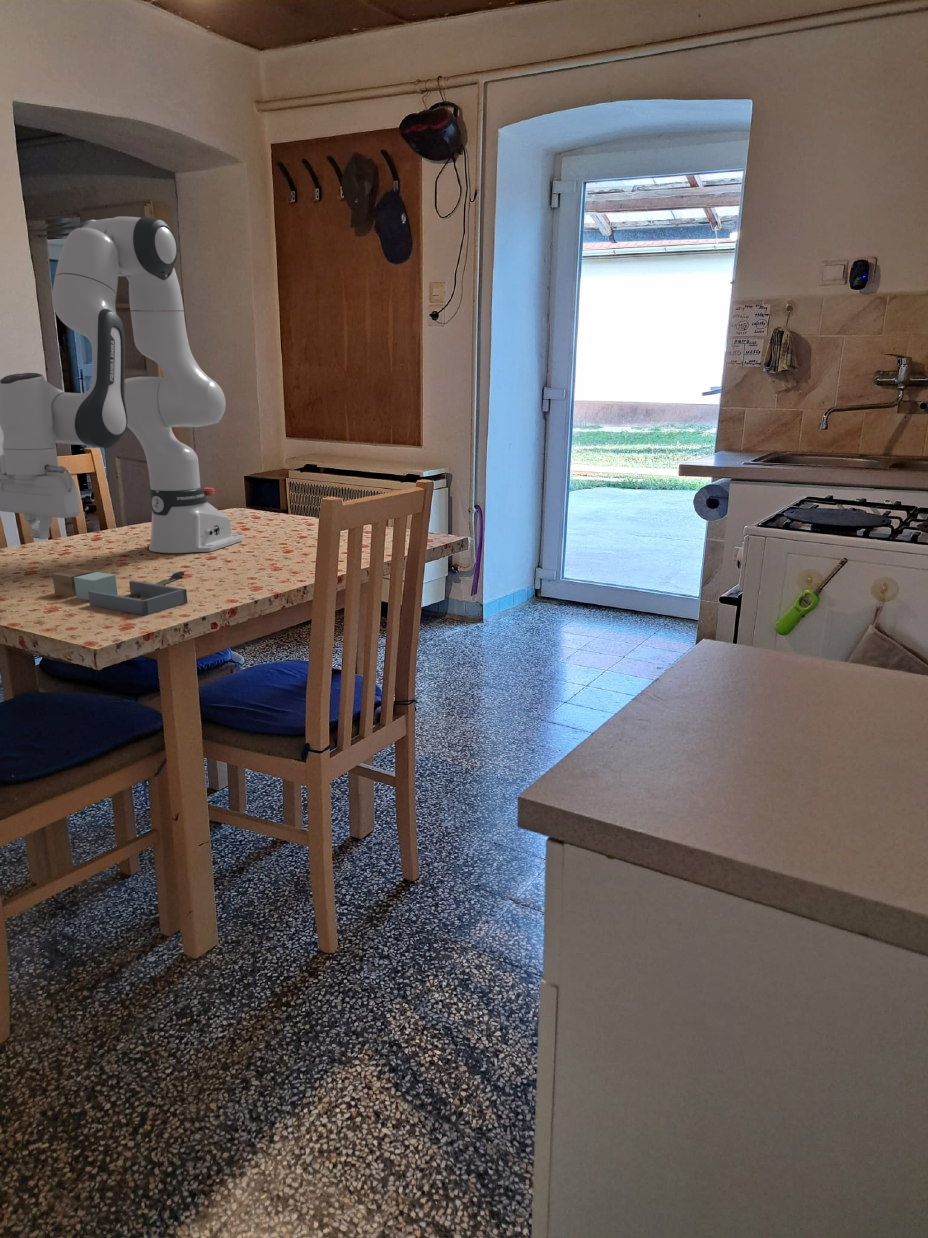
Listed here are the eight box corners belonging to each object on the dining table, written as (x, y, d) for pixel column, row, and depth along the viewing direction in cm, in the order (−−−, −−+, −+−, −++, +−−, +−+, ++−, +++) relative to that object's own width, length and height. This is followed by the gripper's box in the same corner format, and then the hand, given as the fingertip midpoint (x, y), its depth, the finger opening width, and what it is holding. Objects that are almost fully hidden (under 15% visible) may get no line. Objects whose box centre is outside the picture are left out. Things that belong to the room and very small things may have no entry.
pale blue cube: (98, 592, 160) (96, 571, 159) (117, 595, 158) (115, 574, 157) (76, 598, 156) (73, 577, 155) (95, 601, 154) (93, 580, 152)
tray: (133, 593, 159) (132, 580, 158) (187, 602, 153) (186, 589, 152) (89, 605, 151) (88, 591, 150) (144, 615, 145) (143, 601, 144)
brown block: (77, 588, 163) (75, 568, 162) (95, 591, 161) (93, 571, 159) (55, 594, 158) (52, 573, 157) (73, 597, 156) (70, 576, 155)
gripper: (84, 465, 154) (92, 540, 158) (12, 460, 163) (21, 531, 167) (53, 467, 149) (62, 545, 152) (-19, 462, 158) (-9, 535, 161)
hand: (40, 538), depth 160 cm, fingers closed
